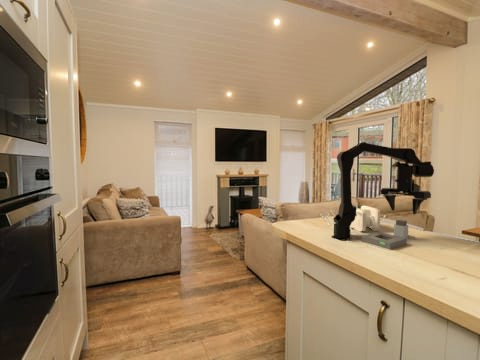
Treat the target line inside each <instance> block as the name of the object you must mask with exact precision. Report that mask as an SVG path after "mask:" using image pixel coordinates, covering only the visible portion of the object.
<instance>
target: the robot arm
mask: <svg viewBox="0 0 480 360" xmlns="http://www.w3.org/2000/svg"><path fill="white" fill-rule="evenodd" d="M363 153H367V154H374V155H379V156H384V157H387V158H390V159H392V160H395V162H394V163H393V164H392V165H391V166H392V168H397V169H396V179H395V180H394V182H396V187H395V188H394V187H382V188H381V189H380V195H382V196H383V198H385V199H386V201H387V203H388V205H389V207H390V209H391V211H395V208H396V207H395V206H396V205H395V204H396V203H395V202H396V197H397V195H401V196H411V197H413V198H412V199H411V200H412V214H413V215H416V214H417V212H418V210H419V208H420V206H421V204H422V203H423V202H424V201H427V200H428V199H431V198H432V193H431V192H430V191H428V190H420V189H421V186H420V185H419V184H417V183H415V179H414V178H413V176H414V177H415V178H431V177H433V176H434V173H435V169H434V166H433V164H432V162H431V161H429V160H428V161H421V160H420V159H419V157H418V156H417V155H416V154H417V153H416V151H415V150H414V149H413V148H410V147H408V148H406V147H388V146H383V145H378V144H373V143H368V142H364V141H362V142H358V143H357V144H356V145H354V146H352V147H350V148H349V149H347V150H346V151H345V150H343V151H340V152H339V153H338V154H337V155H336V162H337V165H338V168H339V173H340V199H341V200H340V204H339V207H338V213H337V214H336V215H335V216H334V217H333V218H332V219H333V222H334V223H333V235H331V238H334V239H337V240H339V241H347V240H350V239H352V238H353V237H352V236H351V228H350V225H351V223H352V222H353V221H354V220H355V216H357V215H356V208H357V206H355V205H354V204H353V203H352V202H353V201H352V169H353V166H354V161H355V158H357V157H359V156H360V155H361V154H363ZM409 164H410V165H409Z"/></svg>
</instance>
